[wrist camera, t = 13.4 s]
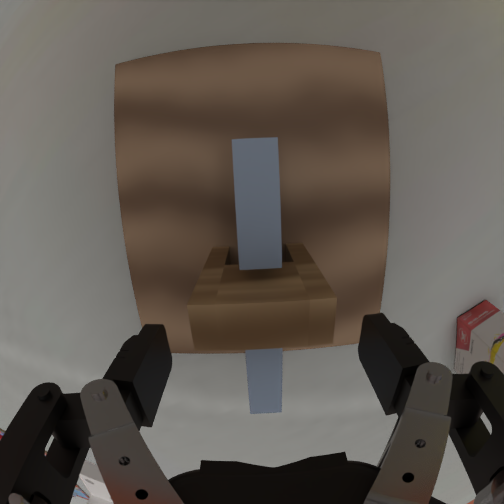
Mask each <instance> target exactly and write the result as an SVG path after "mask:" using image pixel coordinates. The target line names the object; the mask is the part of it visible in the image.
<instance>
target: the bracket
mask: <svg viewBox="0 0 504 504" xmlns="http://www.w3.org/2000/svg"><path fill="white" fill-rule="evenodd" d="M79 476H80V478H81V479H82V481H83V483H84V484H85V486H86V487H87V489H88V491H89V492H90V494H91V495H90V497H89V500H88V503H87V504H114V503H113V501H112V499H111V497H110V494H109V492H108V490H107V488H106V485H105V483H104V481H103V478H102V476H101V473H100V471H99V468H98V465H96V464H94V463H91V462H89V461H86V460H85V461H84V464H83V466H82V469H81V472H80V475H79Z"/></svg>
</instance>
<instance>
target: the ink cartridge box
mask: <svg viewBox="0 0 504 504" xmlns="http://www.w3.org/2000/svg"><path fill="white" fill-rule="evenodd" d="M479 361H486V362H490V363H492V364H494V365H496V366H497V367H498V368H499V369H500V371H501V372H502V373H503V374H504V313H503V312H502V311H500V310H499V309H498V308H496V307H495V306H494V305H492V304H491V303H490V302H488V301H487V300H485V301H483V302H482V303H480V304H479V305H477V306H476V307H474V308H473V309H471V310H469V311H468V312H466V313H465V314H463V315H461V316H459V317H458V318H457V343H456V356H455V366H454V369H455V371H456V372H457V373H458V374H469V372H470V369H471V367H472V365H473V364H474V363H476V362H479Z"/></svg>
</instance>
